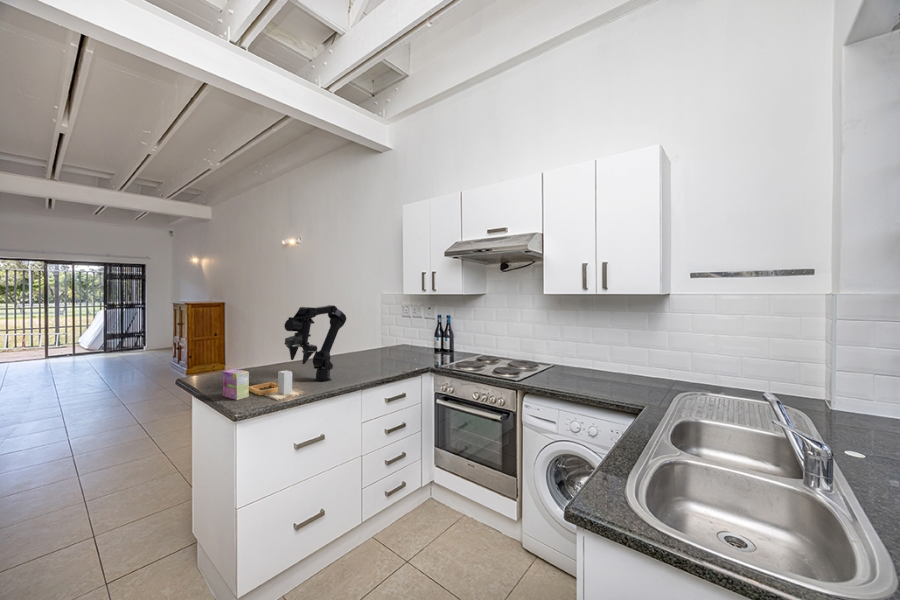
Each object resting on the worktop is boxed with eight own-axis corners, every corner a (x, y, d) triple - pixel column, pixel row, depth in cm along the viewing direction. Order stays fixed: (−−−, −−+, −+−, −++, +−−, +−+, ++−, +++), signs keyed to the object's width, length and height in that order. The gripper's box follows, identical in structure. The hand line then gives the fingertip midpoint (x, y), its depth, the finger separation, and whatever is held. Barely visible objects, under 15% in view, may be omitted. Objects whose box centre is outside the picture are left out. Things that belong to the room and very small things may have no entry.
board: (292, 389, 179) (292, 388, 179) (304, 393, 174) (304, 391, 173) (264, 395, 168) (264, 394, 168) (276, 400, 162) (276, 398, 162)
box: (222, 396, 165) (222, 370, 165) (234, 393, 170) (235, 368, 170) (236, 400, 160) (236, 373, 160) (248, 397, 165) (249, 371, 165)
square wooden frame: (271, 385, 185) (271, 381, 185) (284, 390, 178) (284, 386, 178) (247, 390, 175) (247, 386, 175) (260, 395, 168) (260, 391, 168)
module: (285, 391, 174) (286, 370, 173) (291, 393, 171) (292, 371, 171) (277, 392, 170) (278, 371, 170) (283, 394, 168) (284, 373, 167)
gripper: (278, 327, 183) (272, 358, 183) (301, 334, 174) (295, 366, 173) (297, 328, 193) (291, 358, 192) (320, 335, 183) (314, 365, 183)
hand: (297, 362), depth 185 cm, fingers open, 9 cm apart
